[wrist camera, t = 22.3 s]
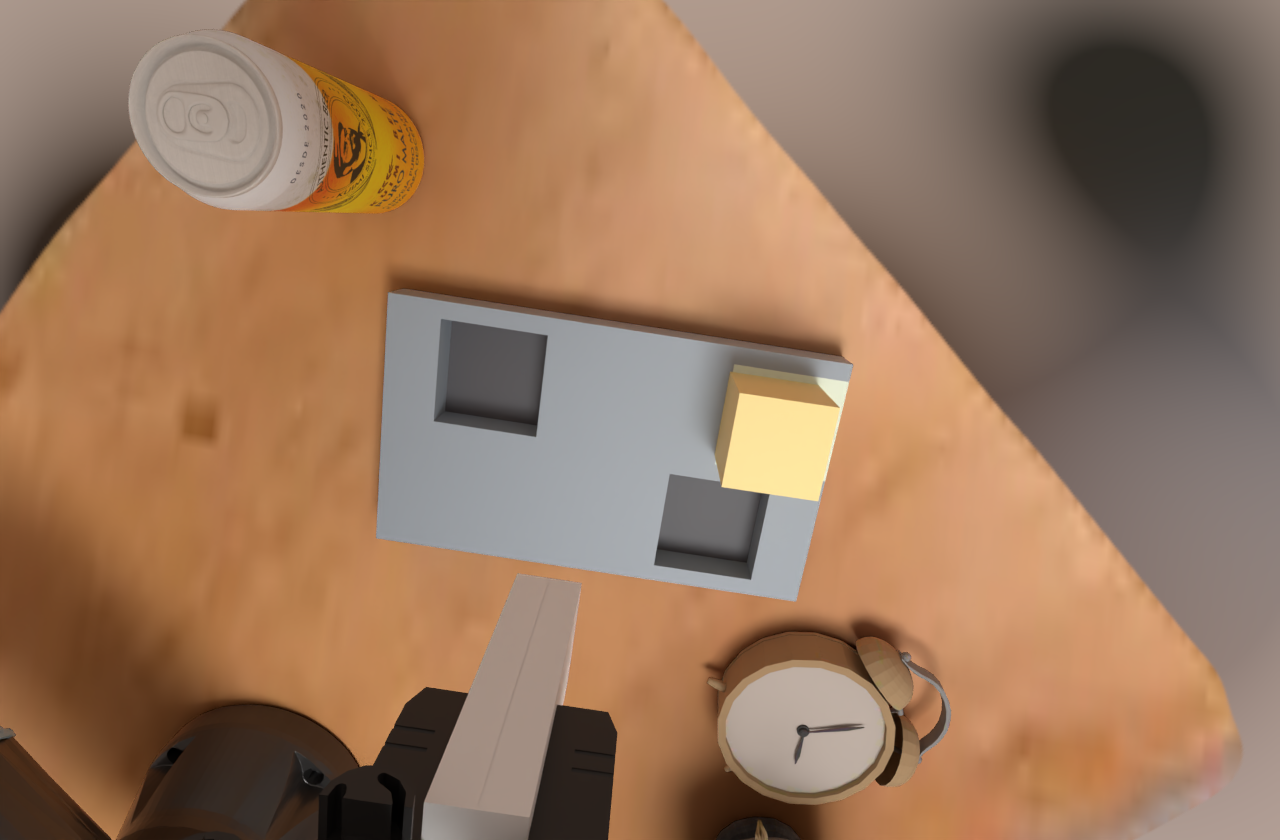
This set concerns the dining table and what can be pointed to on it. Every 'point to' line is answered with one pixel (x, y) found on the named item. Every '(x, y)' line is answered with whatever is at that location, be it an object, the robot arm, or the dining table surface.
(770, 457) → the block
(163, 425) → the dining table surface
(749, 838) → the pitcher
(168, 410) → the dining table surface
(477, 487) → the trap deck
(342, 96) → the beer can
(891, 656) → the alarm clock
